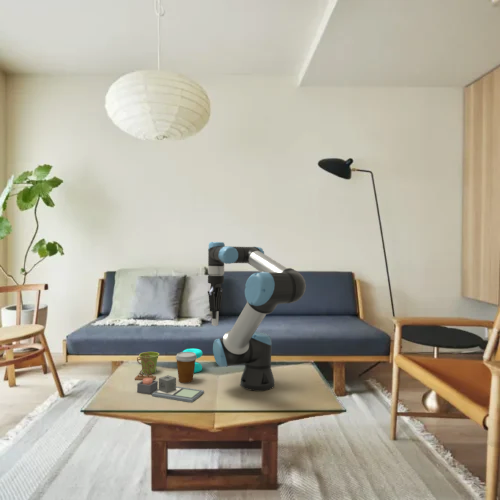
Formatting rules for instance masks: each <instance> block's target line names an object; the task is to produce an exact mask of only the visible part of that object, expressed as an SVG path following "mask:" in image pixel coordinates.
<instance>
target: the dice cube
mask: <svg viewBox="0 0 500 500" xmlns="http://www.w3.org/2000/svg"><path fill="white" fill-rule="evenodd" d="M176 386H177V377H175V376H172V375H169V374H168V375H165V376H162V377H159V378H158V389H159V391H162V392H165V393H169V392H171V391H174V390H176Z"/></svg>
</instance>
